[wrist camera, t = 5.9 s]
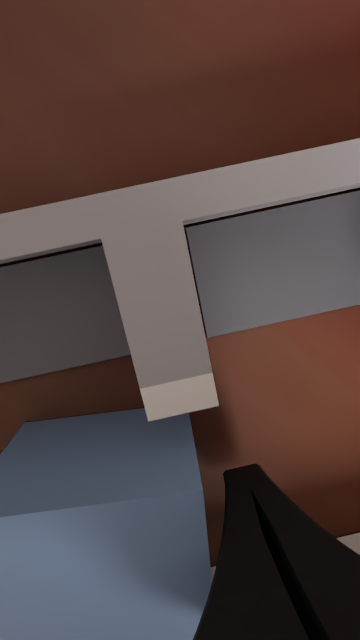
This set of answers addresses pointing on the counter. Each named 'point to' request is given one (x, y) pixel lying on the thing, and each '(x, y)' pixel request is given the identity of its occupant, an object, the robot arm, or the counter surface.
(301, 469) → the counter surface
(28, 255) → the trap box
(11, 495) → the block
